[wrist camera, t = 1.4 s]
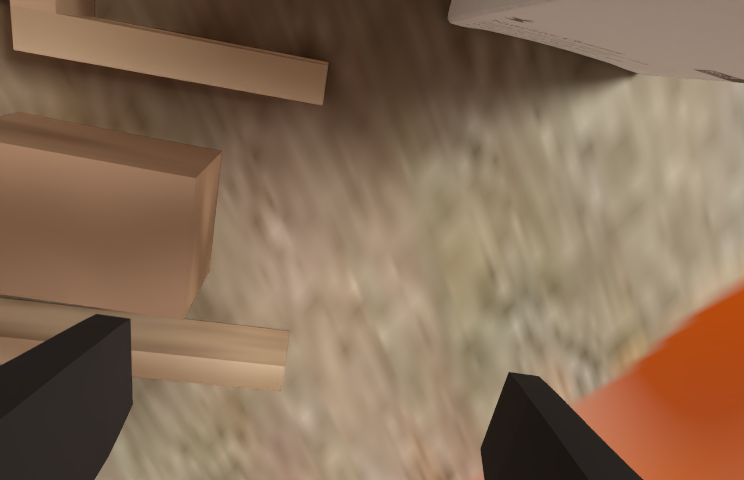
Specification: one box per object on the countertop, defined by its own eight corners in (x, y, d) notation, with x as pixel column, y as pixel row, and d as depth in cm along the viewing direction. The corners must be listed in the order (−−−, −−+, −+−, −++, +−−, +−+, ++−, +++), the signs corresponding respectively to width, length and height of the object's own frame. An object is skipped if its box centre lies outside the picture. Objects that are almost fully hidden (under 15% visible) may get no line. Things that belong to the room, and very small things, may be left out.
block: (210, 268, 20) (183, 320, 17) (27, 239, 19) (-46, 287, 15) (222, 150, 18) (195, 178, 15) (21, 111, 17) (-62, 131, 14)
